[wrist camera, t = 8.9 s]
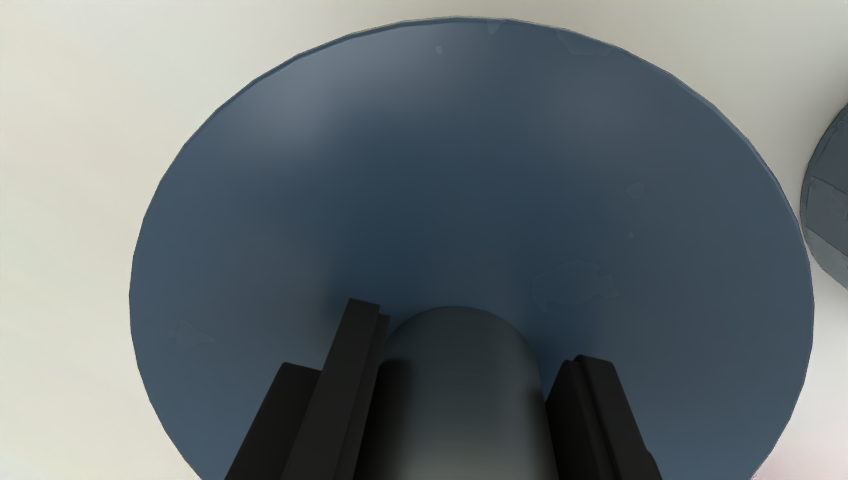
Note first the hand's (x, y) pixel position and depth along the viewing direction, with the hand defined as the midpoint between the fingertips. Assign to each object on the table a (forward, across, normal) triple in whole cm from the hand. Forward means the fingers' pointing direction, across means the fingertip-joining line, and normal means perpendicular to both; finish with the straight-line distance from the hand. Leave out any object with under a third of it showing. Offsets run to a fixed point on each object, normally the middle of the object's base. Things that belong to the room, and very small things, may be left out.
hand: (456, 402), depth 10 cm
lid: (+1, 0, 0) cm, 1 cm away
